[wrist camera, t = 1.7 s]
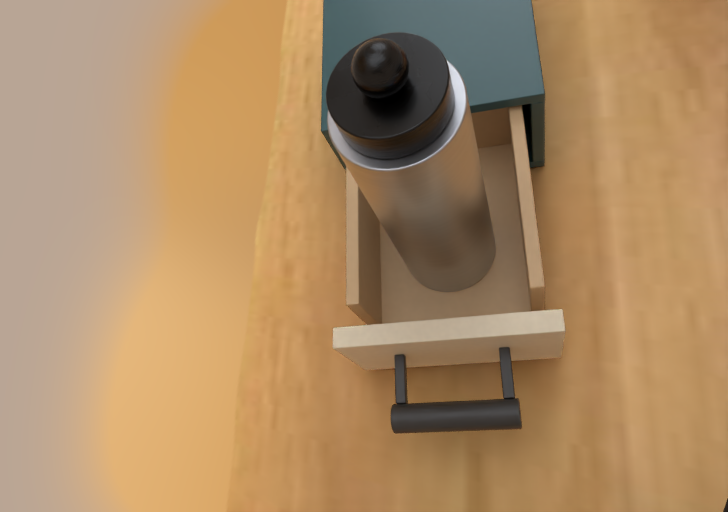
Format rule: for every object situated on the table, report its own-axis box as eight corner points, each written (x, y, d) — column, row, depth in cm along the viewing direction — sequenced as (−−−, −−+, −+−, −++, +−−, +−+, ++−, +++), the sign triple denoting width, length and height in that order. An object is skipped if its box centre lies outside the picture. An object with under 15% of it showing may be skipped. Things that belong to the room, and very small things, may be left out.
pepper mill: (507, 218, 39) (477, -10, 21) (480, 303, 38) (423, 134, 20) (421, 199, 41) (329, -22, 24) (393, 279, 40) (270, 106, 22)
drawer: (571, 433, 35) (578, 421, 29) (365, 440, 38) (331, 430, 32) (532, 138, 42) (531, 79, 36) (362, 164, 45) (334, 113, 39)
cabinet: (544, 166, 42) (545, 93, 34) (358, 192, 45) (320, 131, 38) (519, -15, 48) (515, -111, 40) (357, 20, 51) (324, -63, 44)
